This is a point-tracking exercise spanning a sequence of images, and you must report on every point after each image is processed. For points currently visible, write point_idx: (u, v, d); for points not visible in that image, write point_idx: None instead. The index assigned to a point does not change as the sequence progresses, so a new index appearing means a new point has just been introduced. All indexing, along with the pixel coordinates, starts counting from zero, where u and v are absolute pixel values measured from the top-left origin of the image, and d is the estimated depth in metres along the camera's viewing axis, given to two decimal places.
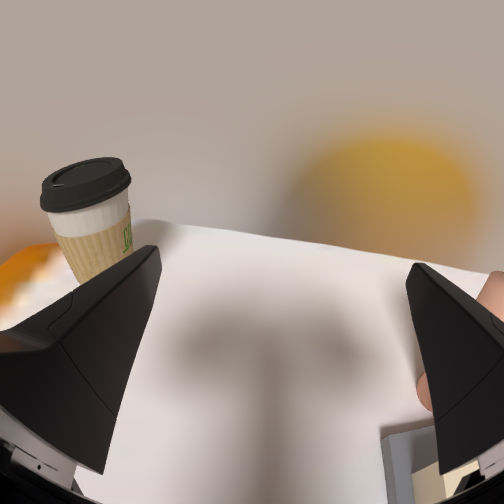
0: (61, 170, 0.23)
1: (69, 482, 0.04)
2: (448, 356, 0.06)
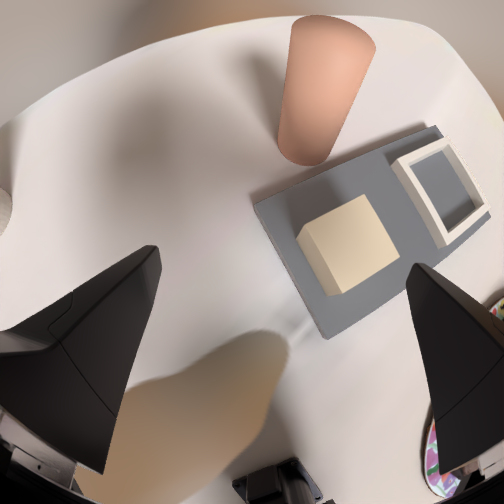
0: None
1: (70, 482, 0.04)
2: (448, 356, 0.06)
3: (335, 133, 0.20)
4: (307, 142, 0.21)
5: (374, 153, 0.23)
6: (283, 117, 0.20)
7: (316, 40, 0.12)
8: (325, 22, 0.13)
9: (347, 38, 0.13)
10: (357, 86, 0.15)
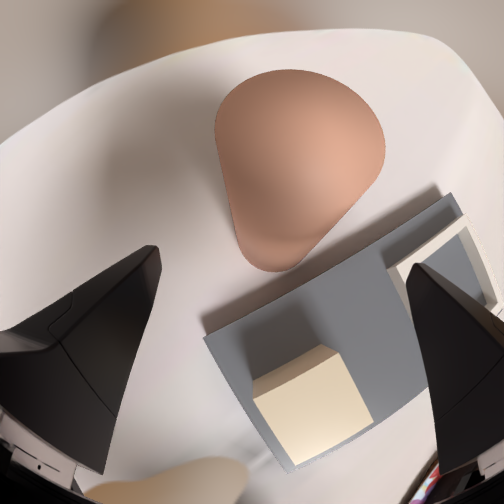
0: None
1: (69, 482, 0.04)
2: (448, 356, 0.06)
3: (309, 250, 0.15)
4: (269, 262, 0.16)
5: (367, 252, 0.19)
6: (235, 228, 0.16)
7: (262, 148, 0.07)
8: (289, 88, 0.08)
9: (331, 130, 0.08)
10: (343, 215, 0.10)
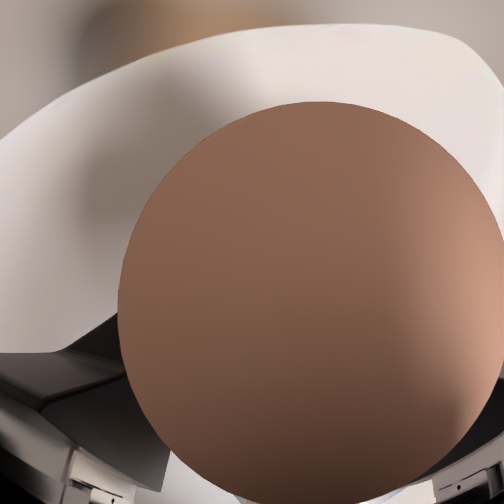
0: None
1: None
2: None
3: None
4: None
5: None
6: None
7: (245, 399, 0.03)
8: (328, 168, 0.03)
9: (428, 316, 0.03)
10: None
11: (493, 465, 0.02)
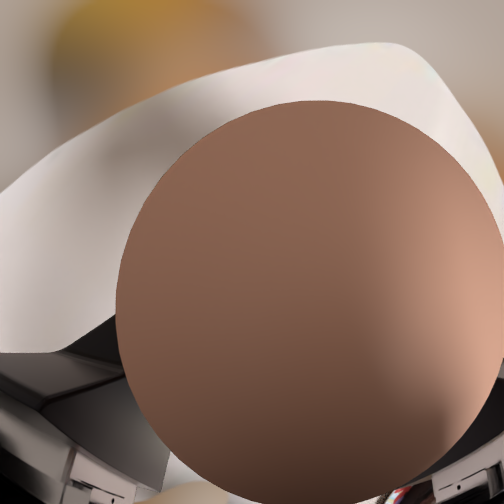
0: None
1: None
2: None
3: None
4: None
5: None
6: None
7: (242, 397, 0.03)
8: (326, 167, 0.03)
9: (426, 314, 0.03)
10: None
11: (493, 465, 0.02)
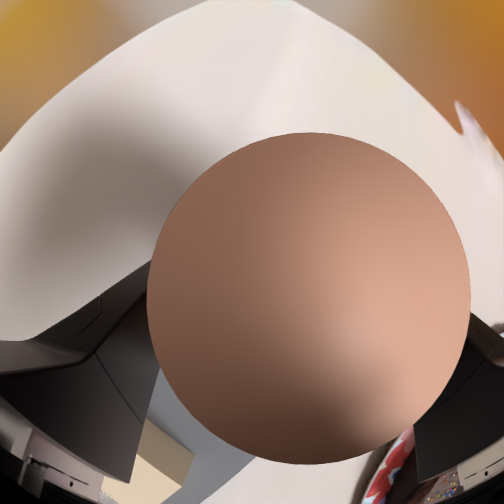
0: None
1: (97, 494, 0.04)
2: None
3: None
4: None
5: None
6: None
7: (244, 361, 0.04)
8: (307, 188, 0.04)
9: (387, 301, 0.04)
10: None
11: None
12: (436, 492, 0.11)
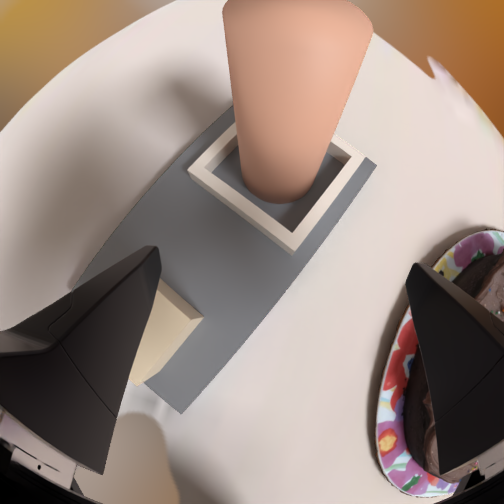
0: None
1: (70, 482, 0.04)
2: (448, 356, 0.06)
3: (315, 164, 0.14)
4: (273, 178, 0.15)
5: (168, 173, 0.20)
6: (239, 144, 0.15)
7: (264, 20, 0.07)
8: None
9: (322, 14, 0.07)
10: (343, 95, 0.09)
11: None
12: None
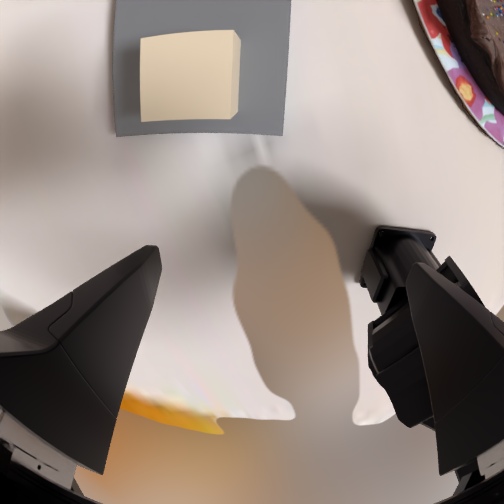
0: None
1: (69, 482, 0.04)
2: (448, 356, 0.06)
3: None
4: None
5: None
6: None
7: None
8: None
9: None
10: None
11: None
12: (484, 8, 0.07)
